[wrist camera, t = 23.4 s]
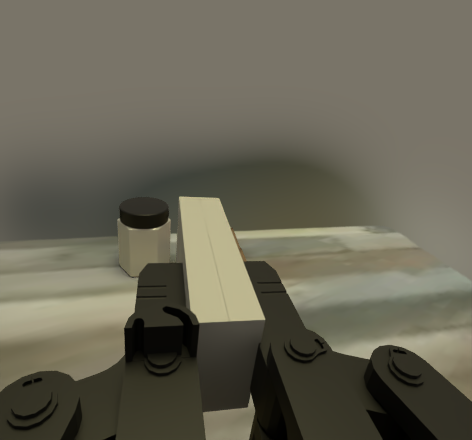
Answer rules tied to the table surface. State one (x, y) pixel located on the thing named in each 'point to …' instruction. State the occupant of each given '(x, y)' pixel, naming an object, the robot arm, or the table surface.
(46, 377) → the robot arm
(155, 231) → the jar
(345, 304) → the table surface
